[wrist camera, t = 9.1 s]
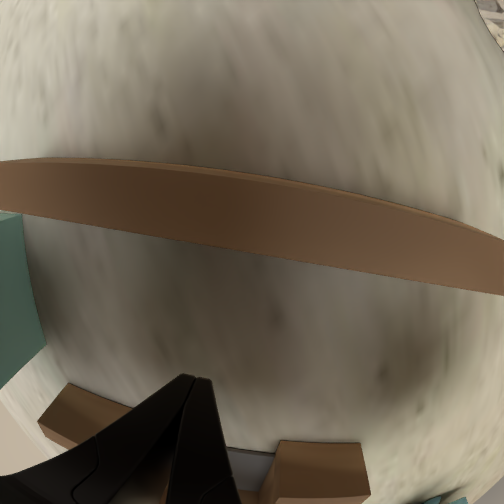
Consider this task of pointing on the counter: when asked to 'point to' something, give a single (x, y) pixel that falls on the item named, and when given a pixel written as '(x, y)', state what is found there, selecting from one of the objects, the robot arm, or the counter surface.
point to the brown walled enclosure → (259, 242)
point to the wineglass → (493, 18)
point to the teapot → (459, 503)
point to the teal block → (16, 302)
